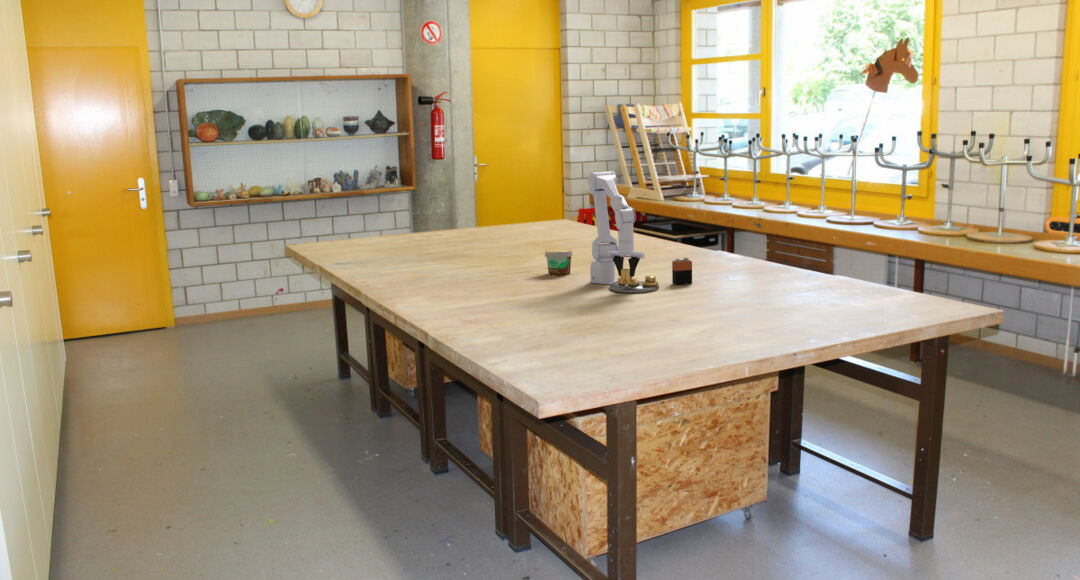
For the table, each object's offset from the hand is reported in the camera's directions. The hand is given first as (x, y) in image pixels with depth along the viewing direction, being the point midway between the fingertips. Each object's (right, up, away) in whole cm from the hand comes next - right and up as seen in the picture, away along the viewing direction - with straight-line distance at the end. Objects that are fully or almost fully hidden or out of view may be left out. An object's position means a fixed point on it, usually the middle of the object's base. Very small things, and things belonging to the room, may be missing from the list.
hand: (626, 276), depth 338 cm
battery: (+23, -3, +12) cm, 26 cm away
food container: (-25, +1, +40) cm, 47 cm away
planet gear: (0, -2, 0) cm, 2 cm away
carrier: (+4, -5, +6) cm, 9 cm away
